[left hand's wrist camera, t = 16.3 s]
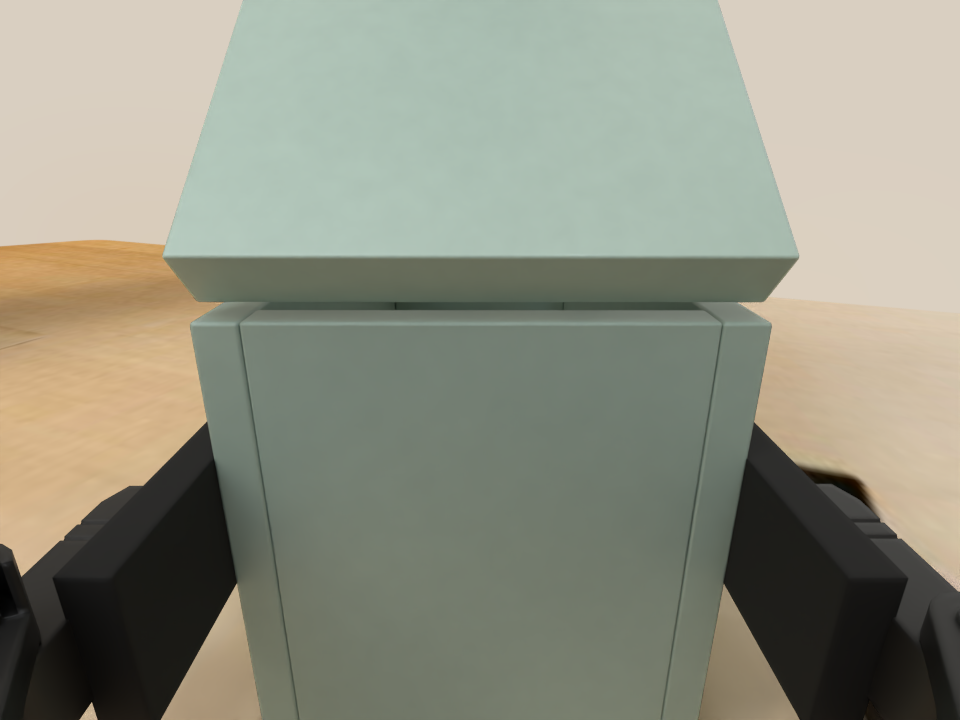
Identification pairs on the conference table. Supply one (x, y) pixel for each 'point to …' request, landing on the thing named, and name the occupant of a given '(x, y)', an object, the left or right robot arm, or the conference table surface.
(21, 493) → the conference table surface
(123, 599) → the left robot arm
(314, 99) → the lid
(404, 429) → the chest
